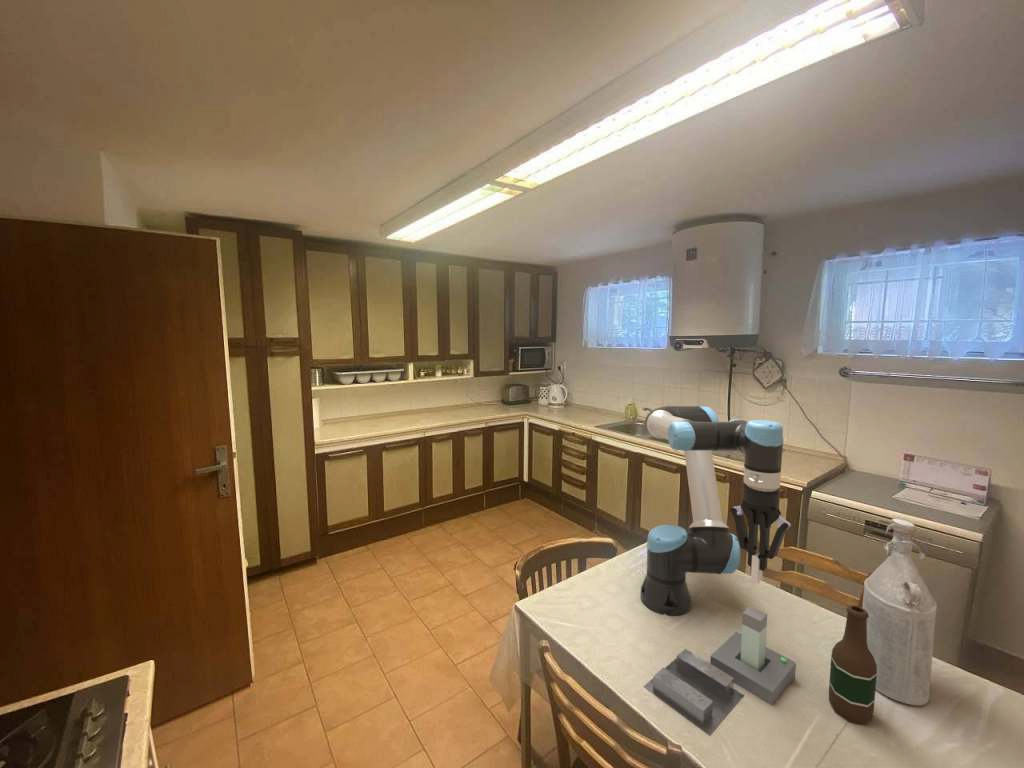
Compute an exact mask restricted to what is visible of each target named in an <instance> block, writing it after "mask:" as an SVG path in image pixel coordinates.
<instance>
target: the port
mask: <svg viewBox="0 0 1024 768" xmlns="http://www.w3.org/2000/svg"><path fill="white" fill-rule="evenodd" d="M741 638H742V633H740V632H738V631H735V633H733V634H732V635H731V636H730V637H729V638H727V640H726V641H725V642H724V643H722V644H721V645H720V646H719V647H718V648H717V649H716V650H715V651H714V652H713V653H712V654H711V655H710V662H709V663H710V664H712V665H713V666H715V667H717V668H718V669H720V670H722V671H723V672H725V673H727V674H728V675H730V676H731V677H733V678H734V684H736V685H737V686H739V687H740V688H742V689H745V691H748V692H749V693H751V694H752V695H754V696H756V697H758V699H760V700H762V701H764V702H766V703H767V704H769V705H770V706H773V705H774V704H775V702H776V701H777V700H778V698H779V697H780V696H781V695H782V693H783V692H784V690H785V689H786V687H787V686H789V685H790V684H792V682H793V681H794V680H795V678H796V668H797V663H796V662H795V661H794V660H793V659H790V658H788V657H786V656H784V655H783V654H781V653H779V652H776V651H774V650H773V649H770V648H769V647H767V646H766V648H765V667H764V669H763V670H762V672H759V671H757V670H756V669H754V668H752V667H750V666H749V665H747V664H745V663H743V662H741V661H740V659H741Z"/></svg>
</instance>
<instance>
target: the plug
mask: <svg viewBox="0 0 1024 768" xmlns="http://www.w3.org/2000/svg"><path fill="white" fill-rule="evenodd" d="M741 623H742V624H741V634H742V638H741V659H740V661H741V662H743V663H745V664H747V665H749V666H750V667H752V668H754V669H756V670H757V671H759V672H762V670H763V669H764V667H765V648H766V647H767V646H766V645H767V644H766V643H767V631H768V630H767V626H768V613H766V612H763V611H761V610H759V609H757V608H755V607H752V606H751V605H750V606H748V607H747V608H746V609H745V610H744V611H743V612H742V621H741Z"/></svg>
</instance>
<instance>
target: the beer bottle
mask: <svg viewBox="0 0 1024 768" xmlns="http://www.w3.org/2000/svg"><path fill="white" fill-rule="evenodd" d="M845 611H846V612H847V615H846V621H845V626H844V627H845V628H844V633H843V636H842V639H841V640H839V641H838V642H837V643H835V644H834V646H833V648H832V650H831V656H830V669H829V685H828V701H829V703H830V705H831V707H832V709H833V710H834V712H835V714H837V715H839V716H840V717H842V719H845V720H846V721H848V722H849V723H854V724H857V725H858V724H859V725H863V726H866V725H867V724H869V722H870V721H872V719H873V717H874V712H875V702H876V701H875V700H876V691H877V690H876V677H877V665H876V662H875V659H874V657H873V655H872V654H871V652H870V651H869V649H868V645H867V618H868V617H869V616H868V613H867V612H866V610H865V609H863V608H862V607H861V606H858V605H855V604H850V605H849V606H847V607H846V610H845Z"/></svg>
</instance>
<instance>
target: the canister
mask: <svg viewBox="0 0 1024 768" xmlns="http://www.w3.org/2000/svg"><path fill="white" fill-rule="evenodd" d="M891 530H892V531H893V534H892V535H893V536H892V539H891V541H888V542H887V543H886V544H885V543H883V549H884V550H885V552H886V555H887V556H888V557H887V558H886V559H885V560H884V561H883V562H882V563H880V565H878V567H877V568H876V569H875V570H874V571H873V572H872V573H871V574H870V575H869V576H868V577H866V578H865V579H864V582H863V585H864V586H863V598H862V607H861V608H863V609H865V610H866V612H867V613H868V616H869V617H868V618H867V645H868V649H869V651H870V652H871V654H872V655H873V657H874V659H875V662H876V665H877V677H876V690H875V691H878V692H879V693H881V694H883V695H884V696H886V697H888V698H890V699H893V700H895V701H897V702H901V703H903V704H908V705H911V706H912V705H913V706H924V705H926V704H927V703H928V702H929V701H930V687H931V676H932V664H933V653H934V640H935V630H936V629H935V628H936V617H937V608H938V604H937V602H936V600H935V599H934V597H933V596H932V594H931V593H930V590H929V588H928V586H927V585H926V583H925V580H924V578H923V577H922V575H921V573H920V571H919V570H918V568H917V565H915V563H914V560H913V558H912V557H911V555H912V551H913V550H916V551H918V552H919V553H918V554H917V555H918V556H917V557H918V558H917V559H918V561H919V562H922V561H923V559H924V558H925V557H926V553H924V552H922V550H921V548H920V547H919V546H918V545H917V544H916V543H914V541H912V540H913V535H914V534H916V532H917V531H918V532H919V533H920V532H921V531H920V528H917V526H916V525H915V524H914V523H912V522H910V521H907V520H904V519H899V518H892V519H891V524H888V526H887V528H886V531H885V534H888V532H889V531H891ZM921 539H923V537H921ZM885 540H886V539H884V541H885Z"/></svg>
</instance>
